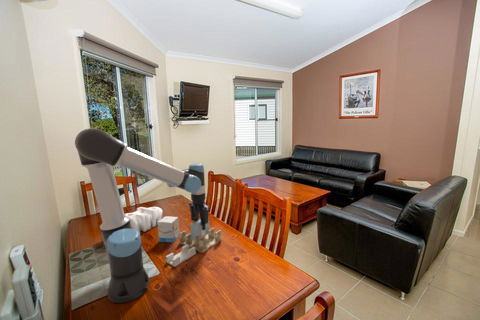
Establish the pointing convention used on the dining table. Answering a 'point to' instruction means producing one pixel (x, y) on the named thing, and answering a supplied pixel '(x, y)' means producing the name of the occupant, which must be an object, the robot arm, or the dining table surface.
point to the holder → (180, 256)
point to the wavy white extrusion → (145, 218)
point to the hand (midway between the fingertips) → (200, 234)
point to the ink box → (168, 229)
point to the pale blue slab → (198, 229)
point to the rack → (201, 240)
